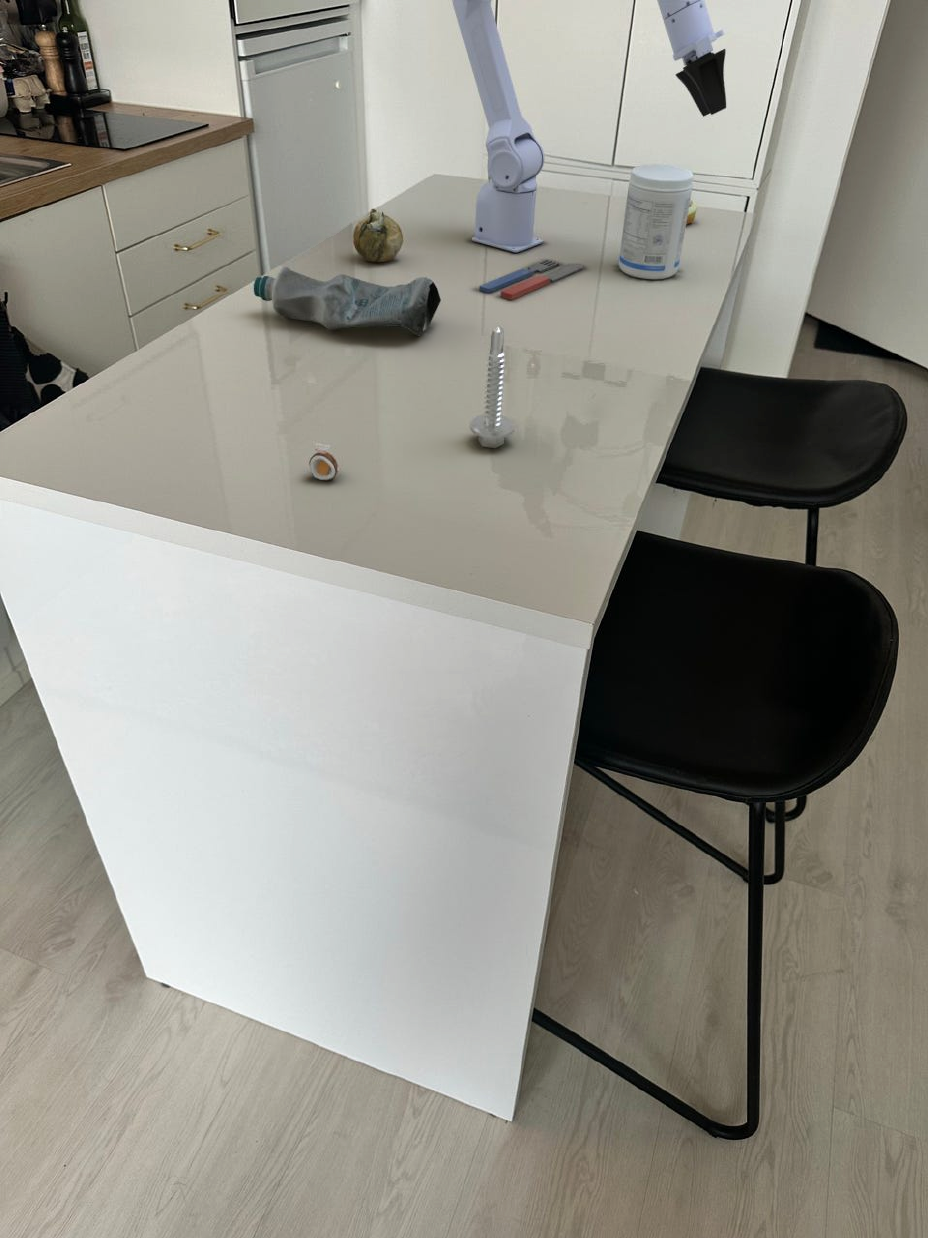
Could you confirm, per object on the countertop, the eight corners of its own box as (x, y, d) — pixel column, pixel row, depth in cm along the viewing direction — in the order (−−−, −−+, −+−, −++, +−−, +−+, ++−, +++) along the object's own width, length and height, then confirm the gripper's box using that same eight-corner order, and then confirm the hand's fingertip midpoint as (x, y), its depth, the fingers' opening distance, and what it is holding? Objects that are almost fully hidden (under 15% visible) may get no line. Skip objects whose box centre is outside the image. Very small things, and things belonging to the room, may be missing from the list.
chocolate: (345, 474, 93) (343, 439, 91) (335, 485, 92) (333, 449, 89) (318, 468, 94) (316, 433, 92) (308, 478, 93) (305, 443, 90)
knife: (511, 300, 134) (512, 294, 134) (500, 296, 135) (500, 290, 135) (585, 268, 147) (585, 262, 146) (574, 265, 148) (574, 259, 147)
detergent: (447, 316, 128) (278, 290, 132) (449, 265, 123) (273, 240, 127) (422, 359, 119) (241, 331, 122) (422, 306, 114) (233, 278, 118)
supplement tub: (645, 257, 152) (660, 160, 143) (690, 273, 147) (708, 173, 137) (604, 268, 147) (617, 168, 138) (649, 285, 142) (665, 182, 132)
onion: (412, 262, 146) (413, 209, 141) (368, 270, 142) (367, 215, 137) (388, 249, 151) (387, 197, 146) (345, 256, 147) (343, 203, 142)
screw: (504, 430, 102) (519, 450, 99) (463, 434, 101) (476, 455, 98) (513, 314, 94) (529, 332, 91) (468, 318, 93) (482, 336, 89)
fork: (490, 294, 136) (491, 289, 136) (477, 289, 137) (477, 285, 137) (559, 265, 148) (560, 260, 147) (546, 261, 149) (547, 256, 148)
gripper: (720, -14, 119) (752, 96, 124) (703, 2, 132) (732, 101, 137) (668, 14, 121) (701, 121, 126) (656, 27, 134) (686, 123, 139)
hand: (714, 112), depth 132 cm, fingers open, 7 cm apart
